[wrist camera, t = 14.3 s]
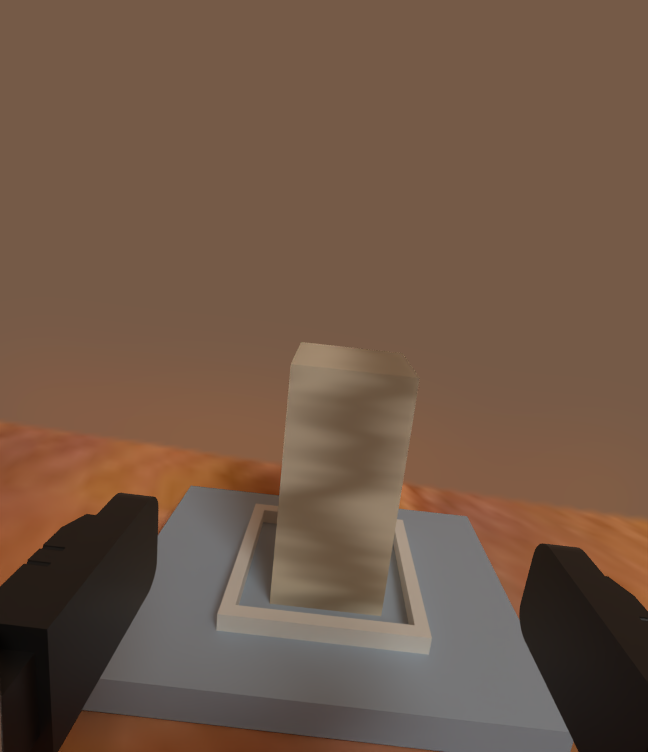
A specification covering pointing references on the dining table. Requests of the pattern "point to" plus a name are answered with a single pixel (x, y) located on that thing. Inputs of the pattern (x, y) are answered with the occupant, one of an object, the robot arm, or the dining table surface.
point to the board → (330, 641)
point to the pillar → (341, 477)
